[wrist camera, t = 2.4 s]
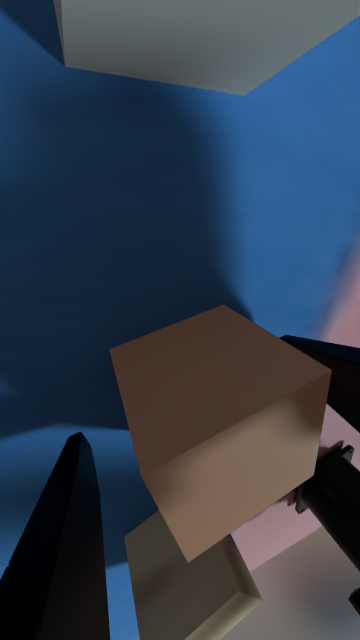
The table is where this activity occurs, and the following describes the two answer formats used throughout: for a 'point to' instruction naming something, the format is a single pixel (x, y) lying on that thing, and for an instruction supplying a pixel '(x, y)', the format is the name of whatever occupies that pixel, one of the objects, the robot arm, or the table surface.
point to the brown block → (219, 420)
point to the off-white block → (196, 38)
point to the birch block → (186, 585)
